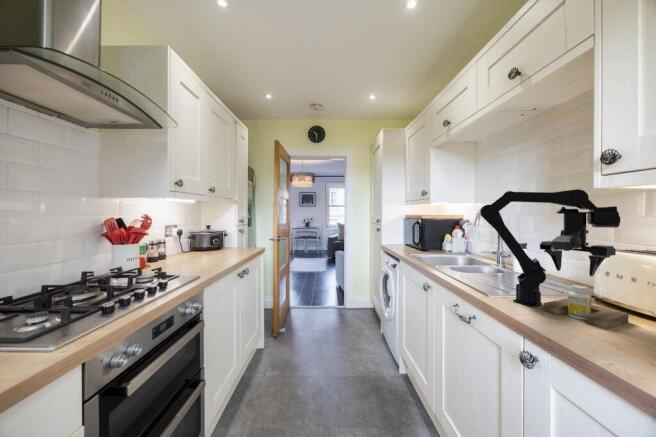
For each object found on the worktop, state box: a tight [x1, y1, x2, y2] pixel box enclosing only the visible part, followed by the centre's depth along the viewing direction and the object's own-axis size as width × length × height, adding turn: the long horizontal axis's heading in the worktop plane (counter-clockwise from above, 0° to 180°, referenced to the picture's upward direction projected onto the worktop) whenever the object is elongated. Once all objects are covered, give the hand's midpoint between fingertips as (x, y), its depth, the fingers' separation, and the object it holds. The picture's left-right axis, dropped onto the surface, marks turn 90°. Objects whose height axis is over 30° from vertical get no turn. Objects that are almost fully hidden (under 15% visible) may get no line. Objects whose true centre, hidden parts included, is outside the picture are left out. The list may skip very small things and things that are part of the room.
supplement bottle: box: [567, 284, 592, 321], centre depth 87 cm, size 5×5×10 cm
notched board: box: [542, 298, 629, 330], centre depth 87 cm, size 16×12×2 cm
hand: (574, 273), depth 93 cm, fingers open, 9 cm apart
